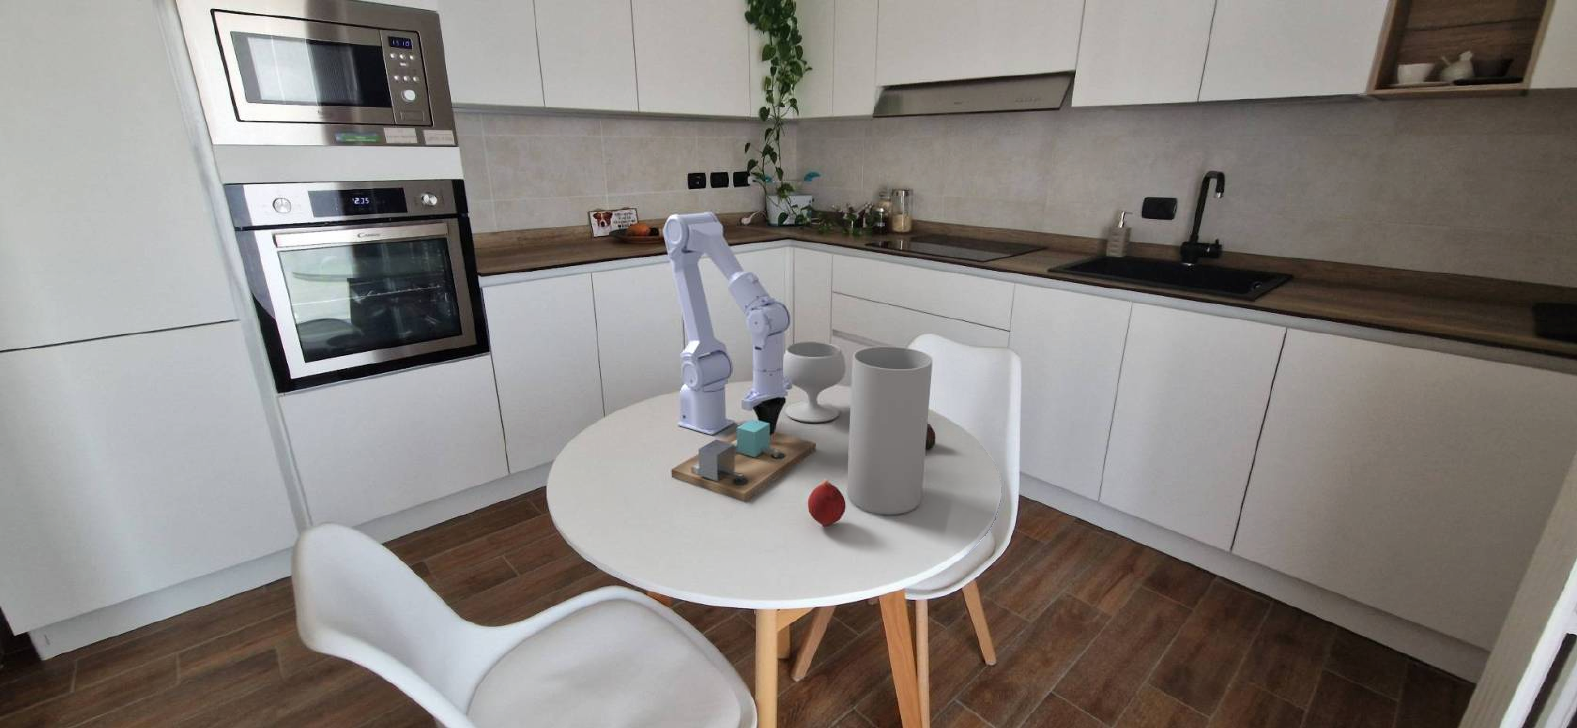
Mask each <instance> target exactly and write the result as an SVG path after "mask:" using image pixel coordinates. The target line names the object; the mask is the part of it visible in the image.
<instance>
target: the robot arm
mask: <svg viewBox="0 0 1577 728" xmlns="http://www.w3.org/2000/svg"><path fill="white" fill-rule="evenodd" d="M662 233H663V238H664V242H665V247H666V251H667V252H666V253H667V256H668V259H669V262H670V267H671V272H672V275H673V280H674V281H673V282H674V284H675V288H676V293H677V297H678V302H679V306H680V311H681V315H682V319H683V323H684V327H685V332H686V337H687V341H688V344H687V346H686V347H685V348H684V349H683V350H682V352H681V353H680V355H679V356H680V357H679V358H680V361H681V370H680V373H681V374H680V375H681V378H682V380H683V382H684V383H683V385H682V386H681V389H680V391H679V396H678V400H679V401H678V404H679V405H678V406H679V421H678V422H677V425H678V426H679V427H683V428H686V429H690V430H694V431H697V432H699V433H704V434H706V435H707V434H708V435H711V436H712V435H716V433H718V432H720V431H722V430H724V429H725V428H728V427H729V426H731V425H733V424H735V420H733V419H730V418H726V417H727V416H726V415H727V413H726V412H727V411H726V409H727V408H726V403H727V402H726V385H728V384H729V383H728V381H729V380H728V379H730V378H731V377H732V375H733V372H734V364H733V363H734V362H733V360H732V358H731V356H730V355H729V353H728V351H727V346H726V344H725V343H724V342H722V341H721V340H719V339H717V338H716V337H715V334H714V330H713V329H714V328H713V325H712V320H711V316H710V315H711V314H710V312H709V308H708V307H709V306H708V301H707V299H706V294H705V288H704V285H703V280H702V277H701V276H702V275H701V271H700V268H699V262H700V260H701V258H702V256H703V255H704V254H706V255H707V256H708V258H709V259H710V260H711V261H712V262H713V264H714V265H715V266H716V268H718V270H719V271H720V272H721V273H722V275H723V276H724V277H725V278H726V280H727V281H728V292H729V294H730V295H731V296H732V298H733V299H734V300H735V302H736V304H737V305H738V306H739V308H740V309H741V311H742V312H743V314H744V315H745V316H746V318H747V319H745V326H746V329H747V331H748V333H749V335H750V337H749V338H750V343H751V345H752V388H751V389H750V390H749V391H748V393H747V394H746V396H744V397H742V398H741V410H745V411H748V412H751V411H754V413H755V414H756V417H757V420H758V421H762V422H766V423H770V435H772V434H774V432H776V428H777V423H778V420H779V417H780V413H781V412H782V410H783V408H784V406H785V404H786V403H787V401H786V400H787V398H786V397H787V396H788V394H789V393H788V392H789V391H790V390H792V389H793V385H792V379H788V378H785V377H784V376H783V357H784V333H785V332H786V331H787V330H788V329H789V327H790V325H791V314H790V312H789V309H788V308H787V305H786V304H784V302H781V301H778V300H776V299H775V298H773V297H771V296H770V294H769V293H768V292H767V290H766V289H765V287H764V286H763V285H762V283H761V282H760V281H759V277H758V276H757V275H756V274H754V272H751V271H745V270H744V269H743V266H741V264H740V261H738V258H737V257H736V256H735V253H734V252H733V250H732V249H731V247H730V245H729V244H728V243H727V242H728V241H726V238H725V237H724V236H723V234H724V226H723V225H722V223H721V222H720V221H719V219H718V217H717V215H716V214H715V213H714V212H711V211H704V212H700V213H699V212H698V213H689V214H688V213H687V214H686V213H685V214H676V213H675V214H671V215H670V216H668V218H667V220H666V222H665V224H664V226H663V229H662ZM707 353H708V354H707ZM704 354H705V355H704Z"/></svg>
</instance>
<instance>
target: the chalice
mask: <svg viewBox="0 0 1577 728" xmlns="http://www.w3.org/2000/svg"><path fill="white" fill-rule="evenodd" d="M845 361H846V360H845V356H844V354H843V352H842V349H841V348H840V347H839V346H837V345H835V344H833V343H829V342H821V341H803V342H797V343H793V344H790V345H789V346H788V347H787V348H786V350H785V352H784V353H783V378H788V379H792V386H794V387H797V388H799V389H801V390H802V391H804V392H805V393H806V395H807V396H808V401H799V402H796V403H792V404H790V405H789V406H787V407H786V408H785V412H784V413H785V414H786V416H787V417H789V418H790V419H792V420H795V421H798V422H802V423H803V422H804V423H824V422H825V423H826V422H829V421H832V420H835V419H836V418H838V417H839V416H840V410H839V408H837V407H836V406H835V405H832V404H830V403H828V402H823V401H818V400H817V399H818V396H819V394H820V393H822V392H823V391H824V390H827V389H829V388H831V387H834V386H835V385H837V384H839V383H840V382H841V381H842V380H843V379H844V377H845V374H846V362H845Z"/></svg>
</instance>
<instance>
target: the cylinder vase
mask: <svg viewBox="0 0 1577 728" xmlns="http://www.w3.org/2000/svg"><path fill="white" fill-rule="evenodd" d="M932 371H933V358H932V356H930V354H928V353H925V352H924V351H921V350H917V349H913V348H910V347H909V348H908V347H903V346H890V345H889V346H886V345H884V346H883V345H882V346H881V345H880V346H869V347H866V348H860V349H858V350H856V351H855V352H854V353H853V354H852V367H851V385H850V407H849V409H850V410H849V411H850V412H849V434H848V454H847V455H848V456H847V459H848V460H847V478H846V479H847V481H846V495H847V498H848V500H849V501H850V502H851V503H852V505H855V507H857V508H859V509H861V510H862V511H865V512H868V513H872V514H876V515H884V516H894V515H901V514H905V513H909V512H911V511H913V510H914V509H916V508H917V507H918V506H919V504H920V503H921V501H922V491H923V481H924V469H925V457H926V455H925V454H926V450H925V447H926V434H927V423H929V422H928V421H929V419H928V418H929V409H930V395H931V385H932V384H931V383H932V375H933V374H932Z"/></svg>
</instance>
